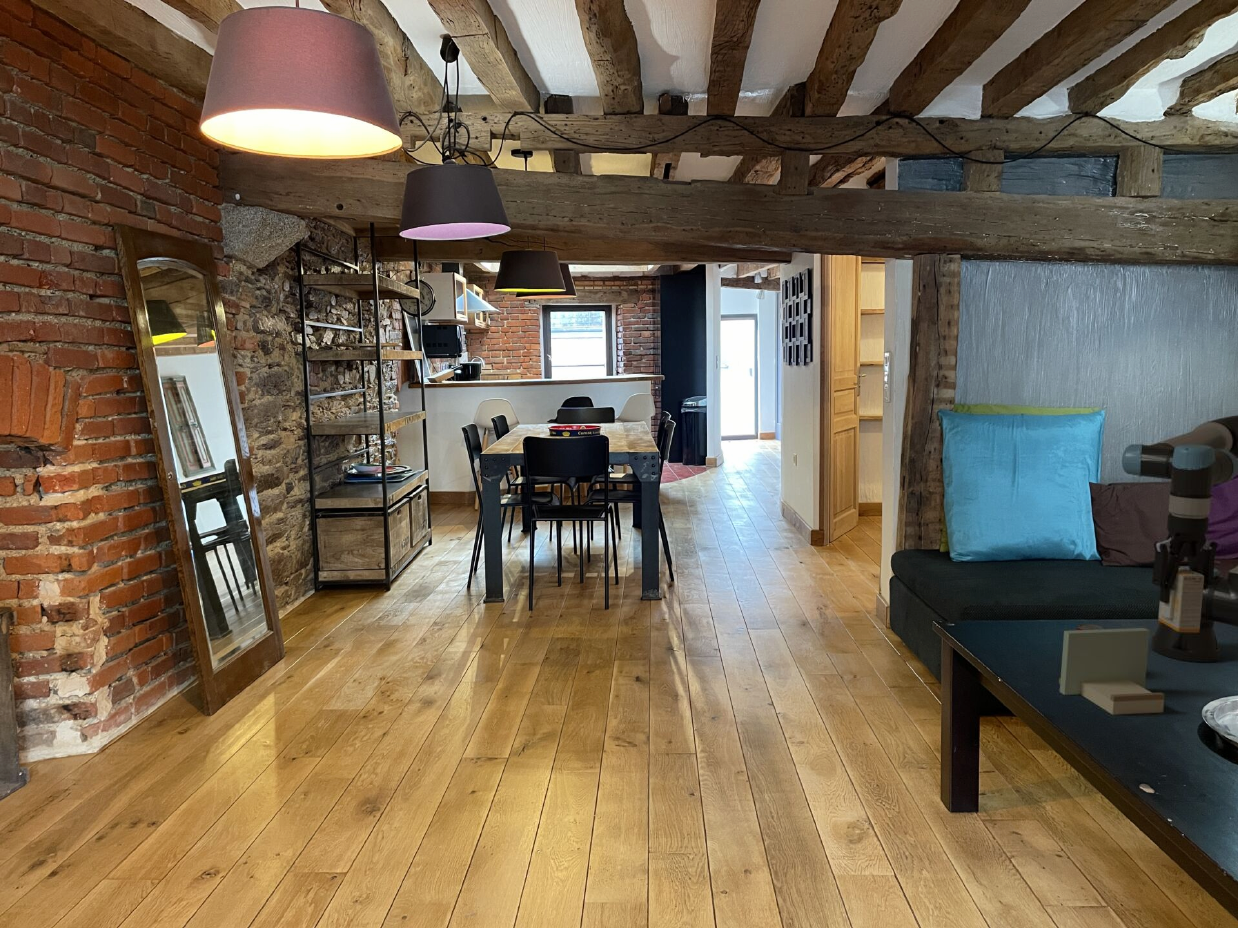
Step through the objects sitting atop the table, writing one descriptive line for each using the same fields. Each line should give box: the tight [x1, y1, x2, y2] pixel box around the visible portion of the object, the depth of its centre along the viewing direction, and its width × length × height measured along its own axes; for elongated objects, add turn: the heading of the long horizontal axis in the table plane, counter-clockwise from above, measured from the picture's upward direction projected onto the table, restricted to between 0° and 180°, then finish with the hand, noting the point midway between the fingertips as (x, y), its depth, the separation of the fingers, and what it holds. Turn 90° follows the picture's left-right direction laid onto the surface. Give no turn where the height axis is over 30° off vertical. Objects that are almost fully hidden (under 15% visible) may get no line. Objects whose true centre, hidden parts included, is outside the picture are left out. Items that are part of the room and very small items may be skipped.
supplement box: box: [1157, 565, 1204, 632], centre depth 186 cm, size 8×5×13 cm, turn 175°
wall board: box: [1058, 627, 1166, 716], centre depth 192 cm, size 20×18×15 cm
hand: (1179, 615), depth 186 cm, fingers closed on supplement box, 5 cm apart
